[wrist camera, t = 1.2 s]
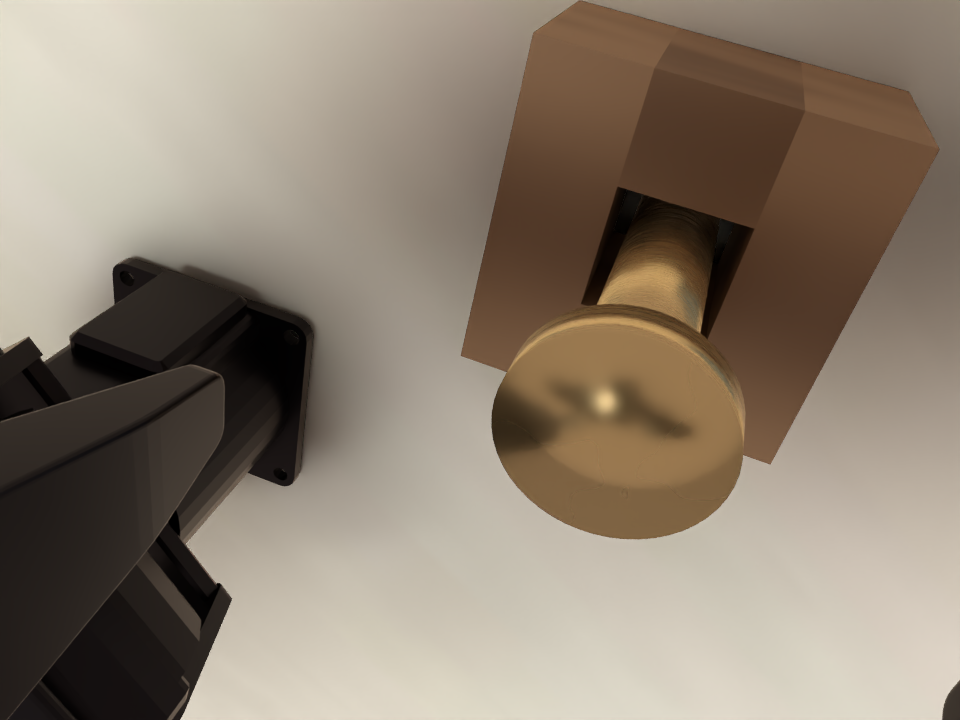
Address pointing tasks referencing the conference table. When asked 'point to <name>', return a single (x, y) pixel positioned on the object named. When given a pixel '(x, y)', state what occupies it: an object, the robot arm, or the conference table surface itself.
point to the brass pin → (629, 393)
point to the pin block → (698, 193)
